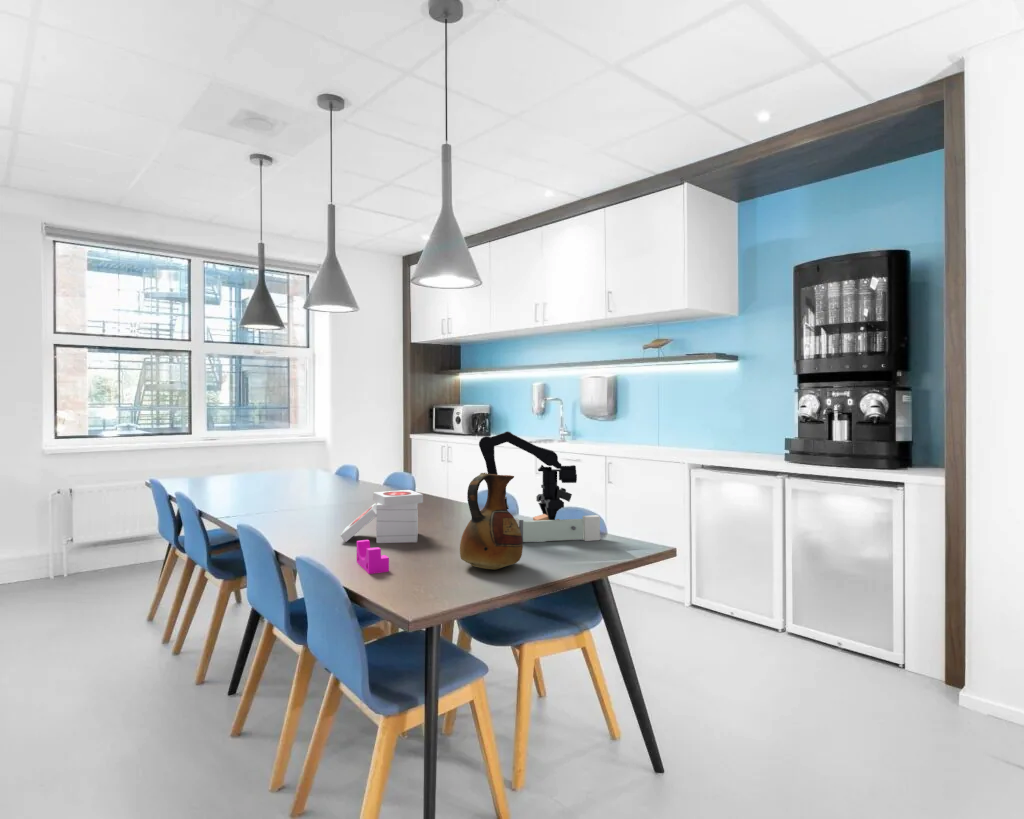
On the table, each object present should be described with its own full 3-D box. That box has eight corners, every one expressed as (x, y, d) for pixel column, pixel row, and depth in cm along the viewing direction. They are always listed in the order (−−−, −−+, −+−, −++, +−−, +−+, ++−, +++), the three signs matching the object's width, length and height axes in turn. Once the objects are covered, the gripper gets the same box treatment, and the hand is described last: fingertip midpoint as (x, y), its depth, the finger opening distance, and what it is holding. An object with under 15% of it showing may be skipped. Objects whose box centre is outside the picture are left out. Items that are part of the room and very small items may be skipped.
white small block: (514, 544, 228) (514, 519, 228) (513, 542, 231) (513, 518, 231) (600, 540, 235) (600, 516, 235) (597, 538, 238) (597, 515, 238)
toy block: (388, 572, 190) (388, 548, 190) (368, 574, 187) (368, 550, 187) (375, 561, 203) (375, 538, 203) (356, 563, 201) (356, 540, 200)
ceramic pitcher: (535, 566, 196) (535, 472, 196) (488, 578, 182) (488, 477, 182) (493, 555, 210) (493, 468, 210) (447, 566, 196) (447, 472, 196)
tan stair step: (541, 537, 235) (536, 519, 235) (536, 534, 241) (532, 517, 241) (565, 530, 238) (561, 512, 237) (560, 527, 243) (556, 510, 243)
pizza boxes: (346, 536, 242) (345, 490, 242) (423, 534, 246) (423, 489, 246) (339, 547, 223) (339, 497, 223) (422, 545, 227) (422, 496, 227)
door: (520, 542, 228) (520, 521, 228) (518, 541, 231) (518, 520, 231) (584, 539, 233) (584, 518, 233) (581, 538, 236) (581, 517, 236)
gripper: (577, 485, 232) (577, 526, 232) (562, 479, 250) (562, 518, 250) (548, 486, 229) (548, 527, 229) (536, 480, 248) (535, 519, 248)
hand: (549, 522), depth 239 cm, fingers closed on tan stair step, 6 cm apart
